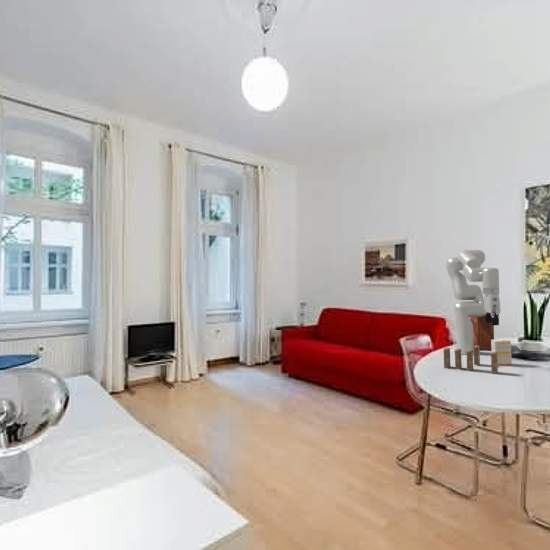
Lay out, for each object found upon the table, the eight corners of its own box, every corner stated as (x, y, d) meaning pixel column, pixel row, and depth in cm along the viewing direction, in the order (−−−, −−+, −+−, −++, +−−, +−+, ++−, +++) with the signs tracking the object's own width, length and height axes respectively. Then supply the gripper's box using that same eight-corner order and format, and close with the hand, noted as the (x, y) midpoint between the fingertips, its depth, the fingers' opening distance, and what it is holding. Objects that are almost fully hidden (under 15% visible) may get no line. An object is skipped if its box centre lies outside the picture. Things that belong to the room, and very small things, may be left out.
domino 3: (467, 370, 197) (466, 351, 197) (469, 368, 201) (468, 349, 201) (471, 371, 196) (470, 351, 196) (473, 369, 200) (472, 349, 200)
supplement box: (507, 363, 210) (506, 339, 210) (511, 365, 205) (511, 340, 205) (491, 363, 211) (490, 339, 211) (495, 365, 206) (494, 340, 206)
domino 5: (491, 373, 190) (491, 353, 190) (493, 371, 194) (492, 351, 194) (496, 374, 189) (495, 353, 189) (497, 371, 193) (497, 351, 193)
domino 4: (474, 365, 207) (473, 346, 207) (475, 363, 211) (475, 345, 211) (478, 366, 206) (477, 347, 206) (479, 364, 210) (479, 345, 210)
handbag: (487, 345, 261) (485, 293, 262) (494, 350, 243) (492, 295, 243) (470, 345, 264) (468, 294, 265) (476, 350, 246) (474, 295, 246)
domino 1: (444, 368, 203) (443, 349, 203) (446, 366, 207) (445, 347, 207) (448, 368, 202) (447, 349, 202) (450, 366, 206) (449, 347, 206)
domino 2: (455, 369, 200) (454, 350, 200) (457, 367, 204) (457, 348, 204) (459, 369, 199) (459, 350, 199) (461, 367, 203) (461, 348, 203)
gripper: (505, 292, 194) (506, 326, 194) (492, 290, 211) (493, 321, 211) (489, 292, 195) (490, 326, 195) (477, 290, 212) (478, 321, 212)
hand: (491, 323), depth 203 cm, fingers open, 9 cm apart
